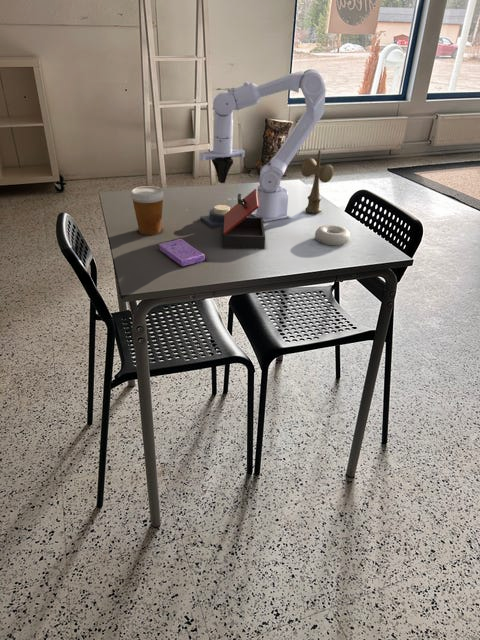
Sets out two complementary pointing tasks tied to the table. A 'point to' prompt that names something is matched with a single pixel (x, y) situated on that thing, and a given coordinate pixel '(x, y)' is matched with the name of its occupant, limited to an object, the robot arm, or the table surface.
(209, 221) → the switch block
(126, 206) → the table surface
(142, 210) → the disposable coffee cup
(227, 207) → the power button
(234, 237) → the black shallow box
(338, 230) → the donut
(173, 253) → the sponge
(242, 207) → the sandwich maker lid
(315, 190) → the kendama
